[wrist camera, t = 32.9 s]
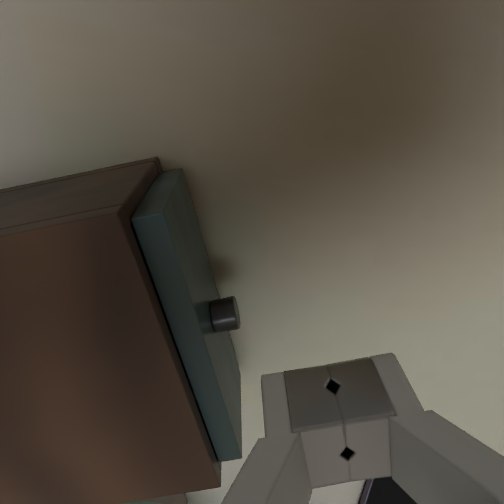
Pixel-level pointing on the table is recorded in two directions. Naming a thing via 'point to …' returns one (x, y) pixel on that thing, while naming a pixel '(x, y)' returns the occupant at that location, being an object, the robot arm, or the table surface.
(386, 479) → the smartphone
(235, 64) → the table surface
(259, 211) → the table surface
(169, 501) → the coffee cup
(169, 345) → the cabinet
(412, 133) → the table surface
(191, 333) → the drawer
